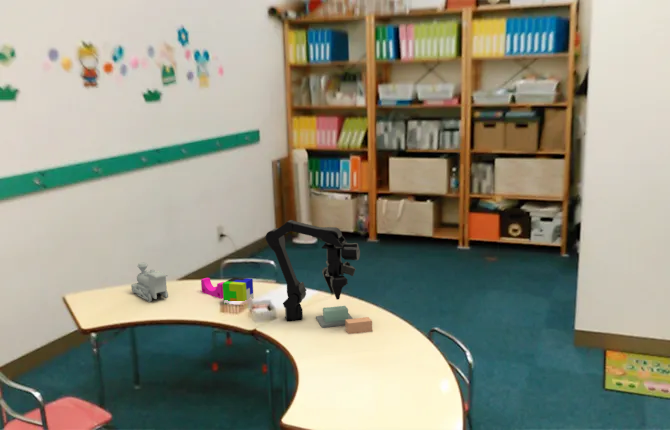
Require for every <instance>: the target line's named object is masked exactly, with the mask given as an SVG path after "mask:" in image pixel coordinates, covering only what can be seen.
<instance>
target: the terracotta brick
mask: <svg viewBox="0 0 670 430" xmlns="http://www.w3.org/2000/svg"><path fill="white" fill-rule="evenodd" d="M344 329H345V331H346V332H347V334H348V335H352V334H360V333H362V334H363V333H369V332H371V333H372V332H373V320H372V319H371V318H370V317H369V316H365V317H356V318H355V317H354V318H353V319H345V328H344Z"/></svg>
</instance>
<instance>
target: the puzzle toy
mask: <svg viewBox="0 0 670 430" xmlns="http://www.w3.org/2000/svg"><path fill="white" fill-rule="evenodd" d="M223 282H224V283H223V301H224V300H228V301H245V300H248V299H249V298H250V297H251V298H252V300H253V299H254V297H255V296H254V283H253V282H254V279H253V278H247V277H234V276H233V277H231V278H229V279H228V280H225V281H223Z"/></svg>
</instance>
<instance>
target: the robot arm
mask: <svg viewBox="0 0 670 430" xmlns="http://www.w3.org/2000/svg"><path fill="white" fill-rule="evenodd" d="M290 232H292V233H293V232H294V233H296V234H302V235H305V236H309V237H314V238H316V239H319V240H321V241H322V242H324V244H323V245H322V246H321V249H323V250H325V249H326V261H325V263H326V267H323V268H322V276H323V278H324V281H325V283H326V284H327V287H328V289H329V292H330V293H331V294H334V296H335V300H340V298H341V295H342V290H343V288H344V287H345V286H347V285H348V279H347V277H346V276H344V275H345V274H346V275H348V276H351V277H354V275H355V271H356V268H355V267H354V266H353V265H351V263H350V262H349V261H359V259H360V257H361V250H360V246H359V243H358V242H354V243H351V242H350V243H348V241H347V240H346V238H345V237H344V236H343V233H342V231H341V229H340V228H339V227H336V226H335V227H334V226H333V227H332V226H317V225H312V224H309V223H303V222H298V221H296V220H293V219H289V220H287V221H286V222H285V223H284V224H283V225H280V226H279V227H278V228H277V227H276V228H273V229H272V230H270V231H267V232H266V235H265V237H264V238H265V241H266V243H267V244H268V246H269V248H270V249H271V250H272V251H273V253H275V256H276V259H277V262H278V264H279V267H280V270H281V273H282V275H283V278H284V281H285V283H286V295H287V299H286V300H284V301H283V303H282V305H283V307H284V311H285V312H284V313H285V315H284V319H285V321H286V322H287V323H288V322H290V323H291V322H299V321H303V308H302V304H301V303H302V301H303V300H304V299H305V297H307V296H306V295H307V288H306V286H305V283H304V281H301V282H300V281H299V280H298V278H297V276H296V274H295V273H296V272H295V271H294V268H293V266H292V265H293V264H292V262H291V260H290V257H289V255H288V251H287V250H286V239H285V236H286V235H287V234H288V233H290ZM342 259H344V260H347V261H345V262H344V263H343V262H342Z"/></svg>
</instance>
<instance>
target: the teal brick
mask: <svg viewBox="0 0 670 430" xmlns="http://www.w3.org/2000/svg"><path fill="white" fill-rule="evenodd" d="M348 313H349V309H348V307H347V306H346V305H340V306H339V305H337V306H329V307H328V306H327V307H323V308H322V315H323V319H324V321H325V322H332V321H341V320H345V319H348Z"/></svg>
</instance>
